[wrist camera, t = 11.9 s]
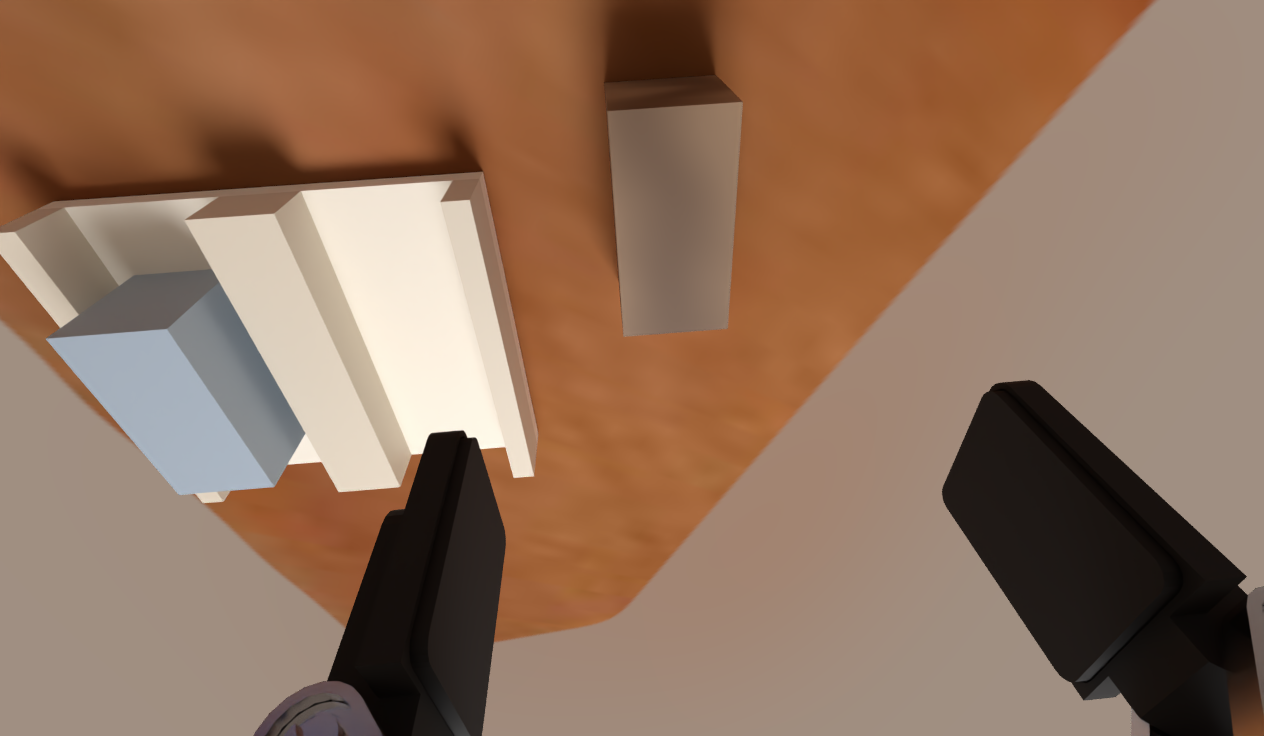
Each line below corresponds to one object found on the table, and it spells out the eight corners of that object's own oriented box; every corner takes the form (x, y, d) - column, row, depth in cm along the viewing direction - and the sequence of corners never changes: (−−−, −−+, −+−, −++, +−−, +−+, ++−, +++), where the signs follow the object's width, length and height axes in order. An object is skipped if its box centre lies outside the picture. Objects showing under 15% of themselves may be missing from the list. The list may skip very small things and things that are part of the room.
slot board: (482, 171, 21) (469, 199, 19) (538, 433, 30) (533, 476, 27) (53, 201, 21) (-16, 234, 18) (234, 458, 29) (203, 502, 27)
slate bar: (235, 267, 22) (166, 329, 18) (316, 415, 27) (274, 486, 23) (134, 275, 22) (45, 338, 18) (233, 422, 27) (178, 494, 23)
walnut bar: (715, 74, 20) (742, 101, 16) (707, 273, 25) (727, 328, 21) (604, 81, 20) (607, 110, 16) (618, 280, 25) (623, 336, 21)
